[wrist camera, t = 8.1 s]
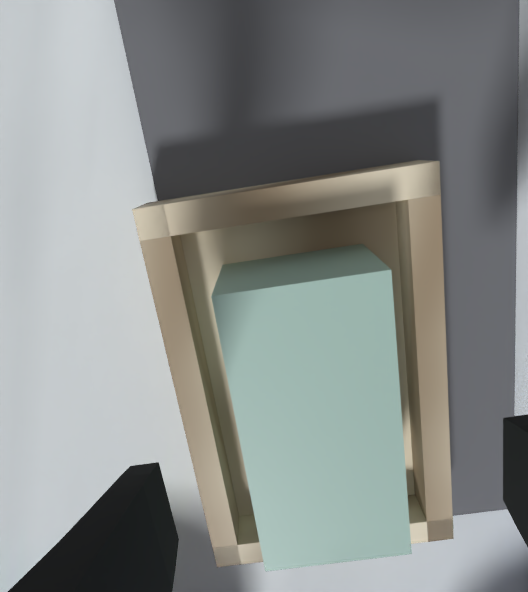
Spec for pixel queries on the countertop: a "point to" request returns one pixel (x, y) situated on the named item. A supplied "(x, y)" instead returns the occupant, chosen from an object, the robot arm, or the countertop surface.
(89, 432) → the countertop surface
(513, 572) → the countertop surface
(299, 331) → the block
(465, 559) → the countertop surface
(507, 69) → the mat
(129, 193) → the countertop surface
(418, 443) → the tray
